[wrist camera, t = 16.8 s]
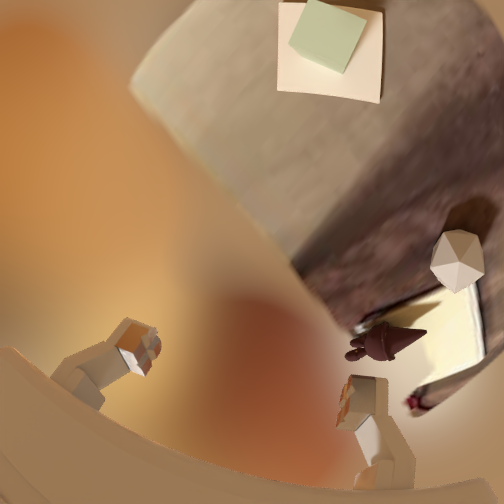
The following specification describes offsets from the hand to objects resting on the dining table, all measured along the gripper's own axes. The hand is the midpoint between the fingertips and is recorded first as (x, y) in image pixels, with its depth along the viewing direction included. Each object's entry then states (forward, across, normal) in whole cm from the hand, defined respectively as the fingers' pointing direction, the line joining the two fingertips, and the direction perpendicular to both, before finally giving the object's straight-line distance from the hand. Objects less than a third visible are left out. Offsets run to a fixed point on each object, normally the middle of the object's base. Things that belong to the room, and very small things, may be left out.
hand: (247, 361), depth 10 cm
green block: (+28, -1, -15) cm, 32 cm away
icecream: (+29, -17, +27) cm, 43 cm away
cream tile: (+29, -1, -15) cm, 33 cm away
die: (+29, -22, +8) cm, 38 cm away
